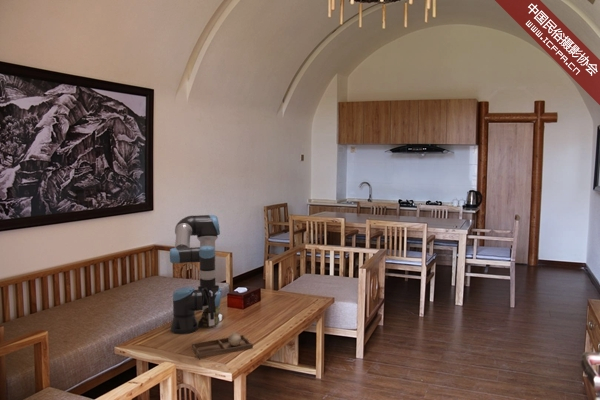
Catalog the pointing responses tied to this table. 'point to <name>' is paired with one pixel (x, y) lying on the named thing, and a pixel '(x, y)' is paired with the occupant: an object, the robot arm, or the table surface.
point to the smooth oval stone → (234, 339)
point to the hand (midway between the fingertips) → (208, 321)
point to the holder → (219, 347)
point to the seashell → (205, 318)
